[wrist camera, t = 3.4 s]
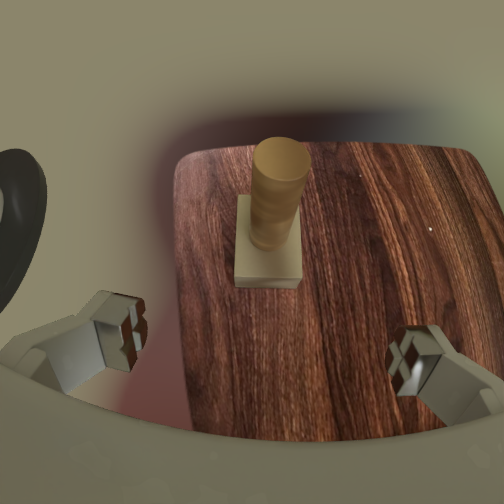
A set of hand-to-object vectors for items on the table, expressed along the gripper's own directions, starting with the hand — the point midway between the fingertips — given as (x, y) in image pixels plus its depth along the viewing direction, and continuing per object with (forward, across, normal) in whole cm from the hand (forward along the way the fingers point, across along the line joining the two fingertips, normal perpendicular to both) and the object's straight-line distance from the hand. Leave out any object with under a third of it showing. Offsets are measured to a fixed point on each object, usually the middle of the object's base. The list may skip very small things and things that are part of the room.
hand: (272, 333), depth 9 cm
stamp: (+16, 0, +4) cm, 17 cm away
